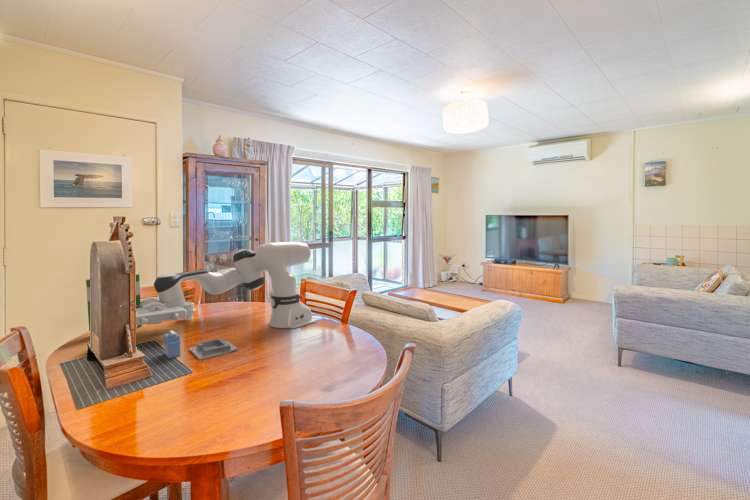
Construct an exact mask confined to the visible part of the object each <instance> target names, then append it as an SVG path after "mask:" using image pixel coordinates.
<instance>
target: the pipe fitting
mask: <svg viewBox="0 0 750 500" xmlns="http://www.w3.org/2000/svg"><path fill="white" fill-rule="evenodd" d="M185 302H186V307H185V309H186V311H187V317H186V318H184V320H185V321H192V320H193V314H194V313H195V312H197V308H195V302H192V301H190V302H189V301H185Z"/></svg>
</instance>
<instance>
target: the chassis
mask: <svg viewBox="0 0 750 500" xmlns="http://www.w3.org/2000/svg"><path fill="white" fill-rule="evenodd" d="M238 350H239V349H238V347H236V346H234V344H232V343H231V342H230V341H228V340H227V339H226V340H224V339H223V338H221V337H219V338H213V339H209V340H204V341H199V342H196V346H192V347H189V352H191V354H193V355H194V356H195V357H196V359H198V360H200V361H201V360H204V359H208V358H212V357H216V356H221V355H226V354H229V353H234V352H237V351H238Z"/></svg>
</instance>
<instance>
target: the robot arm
mask: <svg viewBox="0 0 750 500" xmlns="http://www.w3.org/2000/svg"><path fill="white" fill-rule="evenodd" d="M310 258H311V248H310V246H309V245H308V244H307V243H305V242H299V241H287V242H286V241H280V242H279V241H277V242H267V243H263V244H260V245H258V246H257V248H256V249H255V251H253V250H252V249H250V248H243V249H240V250H238V251H236V252H235V253H234V254H233V256H232V260H233V263H234V265H235V267H229V268H224V269H221V270H217V271H214V272H213V271H212V272H211V270H209V269H206V268H205V269H204V268H203V269H195V270H190V271H189V270H188V271H184V272H177V273H165V274H162V275H159V276H157V277H156V279H155V280H154V282H153V286H154V287H153V288H154V289H155V292H156V293H157V296H158V298H155V297H151V296H150V297H146V298H145V297H144V298H143V299H141V300H140V304H139V307H136V325H142V326H143V325H145V326H148V325H159V324H161V323H163V322H168V321H178V320H180V319H185V318H186V317H187V311H186V309H185V307H186V302H187V301H186V299H185V295H184V292H183V289H182V282H188V281H190V280H191V281H192V280H196V282H198V283H199V286H201V288H202V289H203V290H204V291H205V292H206V293H208V294H210V295H215V296H216V295H220V294H223V293H225V292H228V291H229V290H231V289H232V288H235V287H236V286H238V285H240V287H241V288H244V289H246V290H248V291H255V290H258V289H260V288H262V286H264V284H265V283H266V279H265V275H264V274H263V272H268V275H269V277H270V280H271V282H270V283H271V295H270V296H271V297H270V304H271V313H270V317H269V322H268V326H269V327H272V328H277V329H296V328H300V327H303V326H306V325H311V324H313V323H314V324H315V323H317V318H316V317H315V316H313V315H312V310H311V308H310V307H309V306H307V305H306V304H305V303H303V302H302V301H300V300H304V295H303V294H298V293H297V279H296V276H294V274H292V273H289V272H288V271H286V269H285V268H289V267H294V266H297V265H302V264H305V263H307V262H309V260H310ZM241 285H242V286H241Z"/></svg>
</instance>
